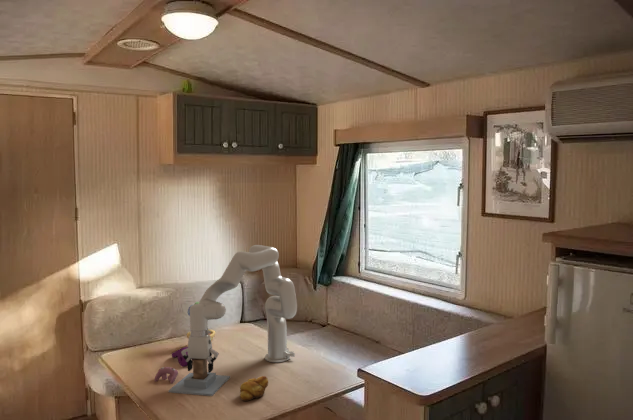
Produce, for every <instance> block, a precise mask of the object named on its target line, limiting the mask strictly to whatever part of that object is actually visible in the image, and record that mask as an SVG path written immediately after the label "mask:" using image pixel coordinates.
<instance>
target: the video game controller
mask: <svg viewBox="0 0 633 420" xmlns="http://www.w3.org/2000/svg"><path fill="white" fill-rule="evenodd" d="M178 375H179V371H178V369H176V368H174V367H172V366H171V367H170V366H163V367H160V368H159V369H158V371H157V373H156V374H155V376H154V382H159V380H160V379H161V380H168V381H169V382H170V384H172V385H173V384H174V383H175V381H176V379H177V376H178Z"/></svg>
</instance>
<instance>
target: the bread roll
mask: <svg viewBox="0 0 633 420" xmlns="http://www.w3.org/2000/svg"><path fill="white" fill-rule="evenodd" d="M268 385H269V380H268V377H267V376H265V375H264V376H263V375H261V376H258V377H257V378H254V377H253V378H248V380H246V381H243V383H241V384H240V386H239V391H240V392H239V393H240V394H239V398H240V399H241V400H242V401H246V402H247V401H251V400H253V399H256V398H260V397H262V396H263V395H264V394H265V391H266V388H267V387H268Z"/></svg>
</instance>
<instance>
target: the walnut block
mask: <svg viewBox="0 0 633 420" xmlns="http://www.w3.org/2000/svg"><path fill="white" fill-rule="evenodd" d="M192 370H193V371H192V373H193V379H202V380H204V379H205V378H206V377H207V372H208V361H207V359H193V360H192Z"/></svg>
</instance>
